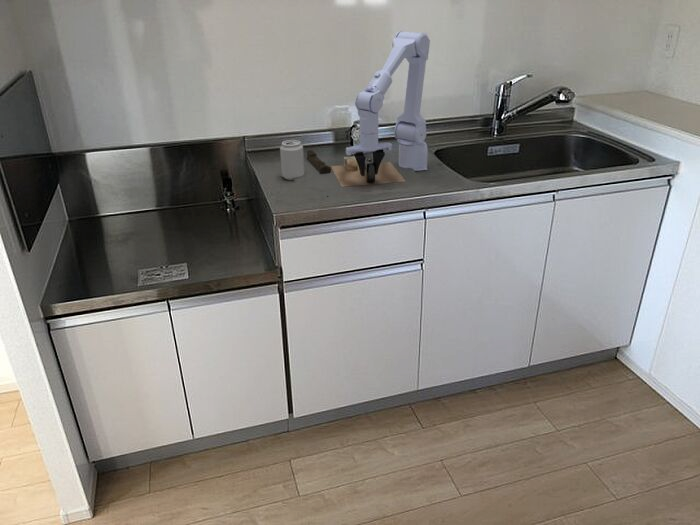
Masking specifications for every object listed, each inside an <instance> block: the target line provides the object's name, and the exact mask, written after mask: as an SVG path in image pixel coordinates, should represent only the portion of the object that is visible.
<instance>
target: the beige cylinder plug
mask: <svg viewBox="0 0 700 525" xmlns="http://www.w3.org/2000/svg"><path fill="white" fill-rule="evenodd" d="M347 170H348V171H357V170H358V163H357V161H356V159H355V158H349V159H347Z"/></svg>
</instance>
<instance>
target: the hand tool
mask: <svg viewBox="0 0 700 525" xmlns="http://www.w3.org/2000/svg"><path fill="white" fill-rule="evenodd" d="M306 156H307V160H308V162H309V163H310V165H312V166H313V167H314V168H315V170H317V171H318V172H319V174H320V175H326V174H331V172H332V168H331V166H329V165H326V163H325V162H324V161H322V160H321V159H320V158H319V157H318V156H317V153H316V152H315V151H314V150H312V149H309V150H307V151H306Z"/></svg>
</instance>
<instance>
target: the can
mask: <svg viewBox="0 0 700 525" xmlns="http://www.w3.org/2000/svg"><path fill="white" fill-rule="evenodd" d="M301 143H302V141H300V140H298V139H288V140H283V141H282V142H281V146H280V147H279V153H280V167H281V169H280V170H281V177H283V178H284V179H285V180H288V181H296V179H295V178H300V177H302V176H304V175H305V164H304V163H305V162H304V157H305V156H304V146H303V145H302V144H301Z"/></svg>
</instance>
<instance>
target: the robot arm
mask: <svg viewBox="0 0 700 525" xmlns="http://www.w3.org/2000/svg"><path fill="white" fill-rule="evenodd" d="M391 42H392V49H391V51H390V53H389V55H388V56H387V59H386V60H385V63H384V65H383V67H382V69H381V70H377V71H375V73H374V75H373V76H372V78H371V79H370V81H369V83H368V85H367V86H366V88H365V89H364V90H363V91H360V92H359V93H358V94H357V96H356V98H355V102H354V105H355V108H356V109H357V115H358V117H359V144H356V145H353V146H348V147H346V148H345V154H346V155H347V156H351V155H353V156H354V157H355V159H356V161H357V163H358V166H359V170H360V174H361V175H362V176H365V159H367V158H366V156H365V155H364V154H365V153H372V154H371V155H372V159H373V162H375V174H378V169H379V166H380V163H381V162H383V159H384V158H385V156H386V153H385V152H384V151H392V147H393V144H392V143H391V142H379V113H380V111H381V109H382V108H383V105H384V104H383V103H384V100H385V95H386V93H387V91H388V90H389V88H390V86H391V85H392V84H393V78H392V76H393V74H394V73H395V72H396V70H397V69H398V68H399V66H400V65H401V64H402V62H403V61H404V60H405V59H406V61H407V62H408V70H407V71H408V72H407V82H406V89H405V90H406V91H405V97H404V98H405V99H404V108H403V113H402V114H400V115H399V116H398V117H397V119H396V123H395V125H394V129H393V134H394V138H395V140H397V141H396V142H397V143H398V166H399V167H401V168H404V169H412V170H413V171H414V172H419V171H420V172H421V171H428V152H429V151H428V144H427V143H426V141H425V140H426V137H427V120H426V119H425V118H424V117H423V116H422V115H421V107H422V97H423V90H424V81H425V73H426V66H427V65H426V64H427V61H428V60H429V52H430V45H431V40H430V38H429V36H428V34H427V33H425V32H414V31H413V32H412V31H404V30H398V31H397V32H396V34H395V35H394V38H393V39H392V41H391Z"/></svg>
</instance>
